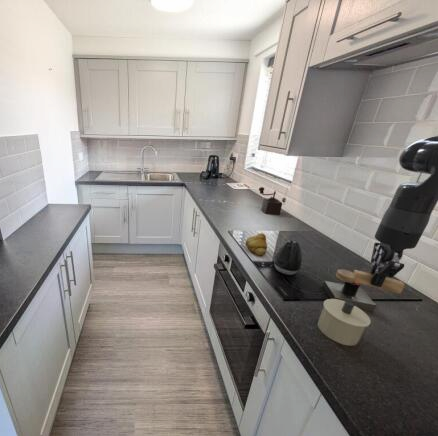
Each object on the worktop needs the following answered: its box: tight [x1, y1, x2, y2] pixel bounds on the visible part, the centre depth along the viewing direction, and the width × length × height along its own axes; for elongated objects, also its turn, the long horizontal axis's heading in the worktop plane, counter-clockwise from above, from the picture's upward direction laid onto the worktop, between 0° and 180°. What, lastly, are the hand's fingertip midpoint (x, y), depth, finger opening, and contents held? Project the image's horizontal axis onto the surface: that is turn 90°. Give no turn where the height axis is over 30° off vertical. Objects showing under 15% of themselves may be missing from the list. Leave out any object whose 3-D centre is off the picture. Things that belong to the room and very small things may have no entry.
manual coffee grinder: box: [258, 186, 283, 216], centre depth 172 cm, size 16×11×18 cm
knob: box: [342, 281, 361, 296], centre depth 84 cm, size 4×4×5 cm
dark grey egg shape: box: [273, 239, 303, 276], centre depth 98 cm, size 10×10×15 cm
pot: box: [316, 306, 367, 347], centre depth 70 cm, size 10×10×7 cm
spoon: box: [335, 268, 406, 295], centre depth 64 cm, size 14×4×3 cm, turn 60°
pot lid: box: [322, 298, 372, 328], centre depth 68 cm, size 11×11×4 cm
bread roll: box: [245, 233, 268, 256], centre depth 116 cm, size 13×10×8 cm
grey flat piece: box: [321, 280, 377, 313], centre depth 85 cm, size 12×10×3 cm
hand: (374, 282), depth 63 cm, fingers closed on spoon, 2 cm apart
